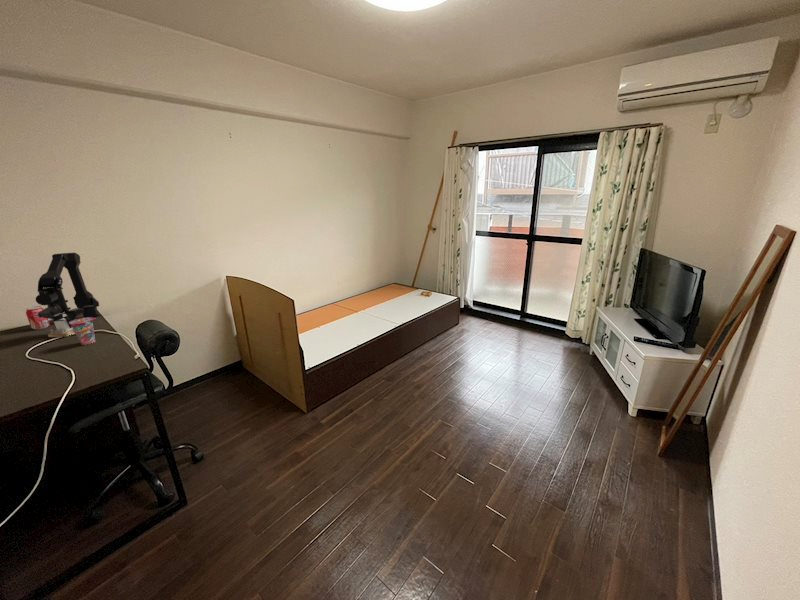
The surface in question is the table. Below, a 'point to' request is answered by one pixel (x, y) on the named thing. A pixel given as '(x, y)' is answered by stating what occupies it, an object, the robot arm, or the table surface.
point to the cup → (84, 330)
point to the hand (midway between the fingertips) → (66, 327)
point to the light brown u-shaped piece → (60, 333)
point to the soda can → (36, 318)
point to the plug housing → (62, 325)
